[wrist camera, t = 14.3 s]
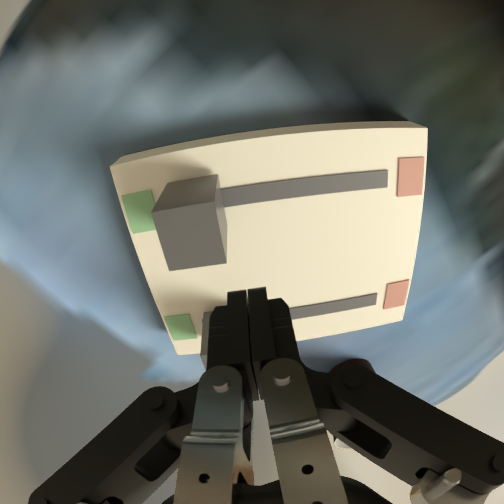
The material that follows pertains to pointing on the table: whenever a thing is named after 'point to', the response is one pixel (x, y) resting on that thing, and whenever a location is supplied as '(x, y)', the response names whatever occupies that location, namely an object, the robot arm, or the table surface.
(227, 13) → the table surface
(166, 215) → the slider
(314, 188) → the switch panel
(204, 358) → the slider
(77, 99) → the table surface
